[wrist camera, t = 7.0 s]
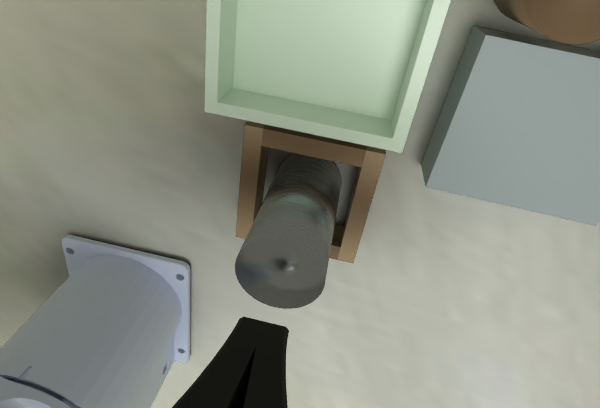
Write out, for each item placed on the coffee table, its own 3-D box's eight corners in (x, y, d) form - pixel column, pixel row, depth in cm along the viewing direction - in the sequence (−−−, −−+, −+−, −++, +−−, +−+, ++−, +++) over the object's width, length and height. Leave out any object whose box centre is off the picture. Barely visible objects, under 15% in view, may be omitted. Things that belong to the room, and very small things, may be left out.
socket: (355, 241, 21) (353, 263, 20) (245, 216, 22) (235, 236, 20) (385, 137, 18) (385, 154, 17) (255, 110, 18) (244, 124, 17)
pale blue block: (571, 195, 18) (595, 225, 16) (420, 160, 19) (425, 186, 17) (655, 62, 15) (700, 79, 13) (471, 24, 16) (485, 34, 13)
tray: (399, 129, 18) (401, 153, 16) (224, 93, 18) (204, 111, 16) (467, -93, 13) (483, -102, 11) (235, -133, 14) (210, -148, 12)
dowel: (334, 213, 21) (316, 317, 15) (273, 200, 21) (232, 297, 15) (347, 158, 19) (333, 250, 13) (281, 144, 19) (238, 228, 13)
